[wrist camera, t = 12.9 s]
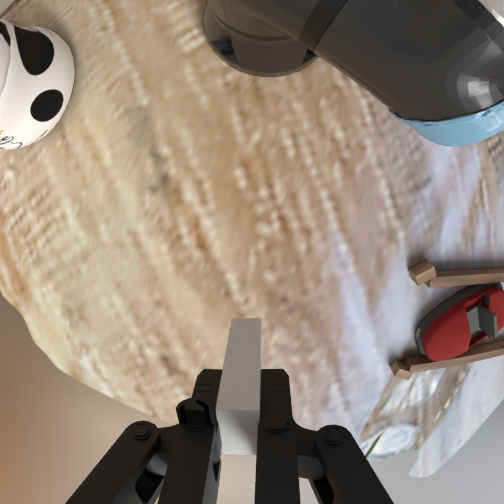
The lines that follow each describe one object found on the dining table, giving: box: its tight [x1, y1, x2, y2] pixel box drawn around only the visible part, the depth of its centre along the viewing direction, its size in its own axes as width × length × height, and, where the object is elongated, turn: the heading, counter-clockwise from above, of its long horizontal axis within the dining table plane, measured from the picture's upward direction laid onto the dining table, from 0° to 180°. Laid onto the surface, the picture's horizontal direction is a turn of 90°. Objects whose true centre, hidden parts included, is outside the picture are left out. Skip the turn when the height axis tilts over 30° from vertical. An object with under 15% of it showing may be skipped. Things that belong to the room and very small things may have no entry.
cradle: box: [390, 260, 504, 380], centre depth 42 cm, size 19×27×2 cm
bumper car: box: [415, 282, 504, 361], centre depth 38 cm, size 10×20×10 cm, turn 117°
